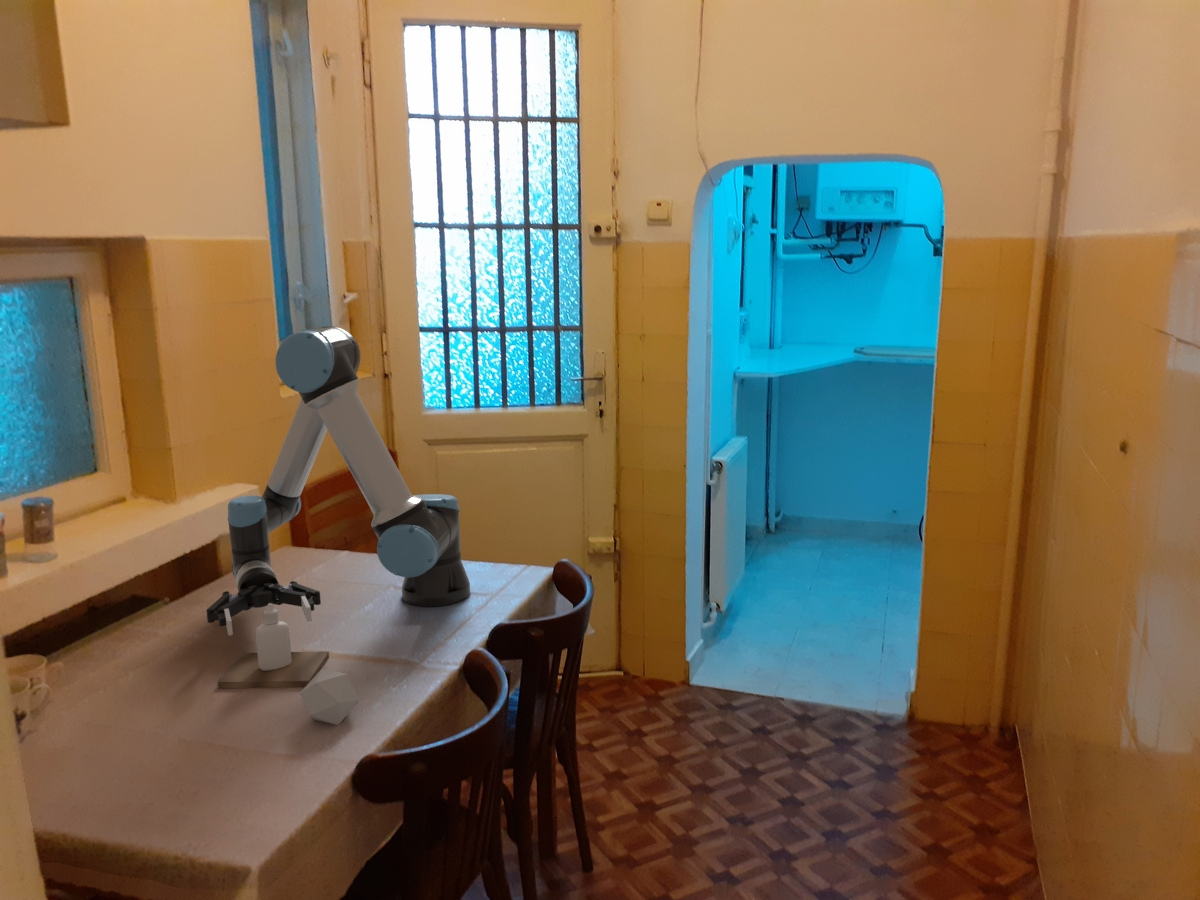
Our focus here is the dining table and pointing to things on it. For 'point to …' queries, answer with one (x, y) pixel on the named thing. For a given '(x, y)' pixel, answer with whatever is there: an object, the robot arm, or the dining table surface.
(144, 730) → the dining table surface
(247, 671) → the walnut board
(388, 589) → the dining table surface
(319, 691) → the die
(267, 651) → the eye dropper bottle
